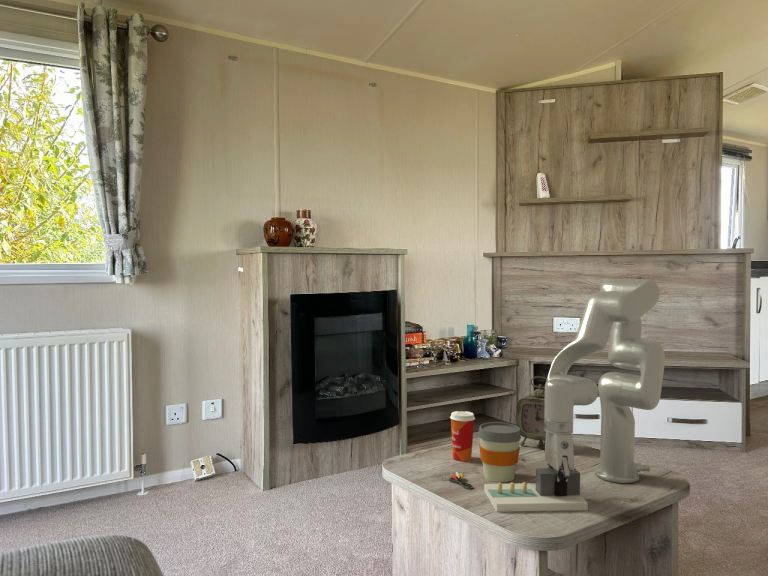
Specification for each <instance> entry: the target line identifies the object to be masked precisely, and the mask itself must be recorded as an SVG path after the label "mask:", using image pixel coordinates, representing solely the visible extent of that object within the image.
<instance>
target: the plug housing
mask: <svg viewBox="0 0 768 576" xmlns="http://www.w3.org/2000/svg"><path fill="white" fill-rule="evenodd" d="M559 469H562V467H560V468H559ZM562 473H563V472H559V476H560V474H562ZM569 474H570V476H569V477H568V481H567V495H580V496H581V473H580V472H579V470H577V468H575V467H574V470H573V471H570V470H569ZM555 481H556V470H555V469H554V468H548V467H546V468H545V467H543V468H542V467H541V468H540V467H539V468H537V467H536V468H535V483H536V491H537V492H538V494H539V495H540V496H555Z"/></svg>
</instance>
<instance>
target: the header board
mask: <svg viewBox="0 0 768 576" xmlns="http://www.w3.org/2000/svg"><path fill="white" fill-rule="evenodd" d="M483 486H484V488H483V489H484V490H483V491H484V493H485V494H486V496H487V498H488V500H489V502H490V503H491V504H492V506H493V508H494V509H495V511H496V513H498V512H501V513H503V512H504V513H505V512H507V513H509V512H555V511H558V512H559V511H560V512H561V511H588V502H587V500H586V499H584V497H583V496H581V494H580V495H566V496H540V495H539V494H538V492H537V491H536V482H532V483H531V482H530V483H527V482H526V481H524V482H521V483H514V482H512V481H510V483H503V482H497V483H484V485H483Z"/></svg>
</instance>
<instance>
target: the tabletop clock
mask: <svg viewBox="0 0 768 576" xmlns="http://www.w3.org/2000/svg"><path fill="white" fill-rule="evenodd" d="M535 379H543V380H546V381H547V377H544V376H541V375H540V376H539V375H538V376H537V375H536V376H533V377H532V378H531V380H530V385H531V386H532V387H534V388H537V389H535V390H534V391H533V392H532V394H528V395H525V396H523V397H522V398H520V399H519V400H518V402H517V406H516V414H515V423H516V424H515V425H516V426H518V427H519V428H520V434H521V437H523V438H524V439H523V440H521V441H519V446H521V447H523V446H525V445H526V443H525V442H526V441H527V439H529V440H534V441H538V445H540V446H542V445H544V442H545V440H546V431H545V430H544V411H545V386H543V385H542V384H541V383H540V384H538V385H536V384H533V380H535Z"/></svg>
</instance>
